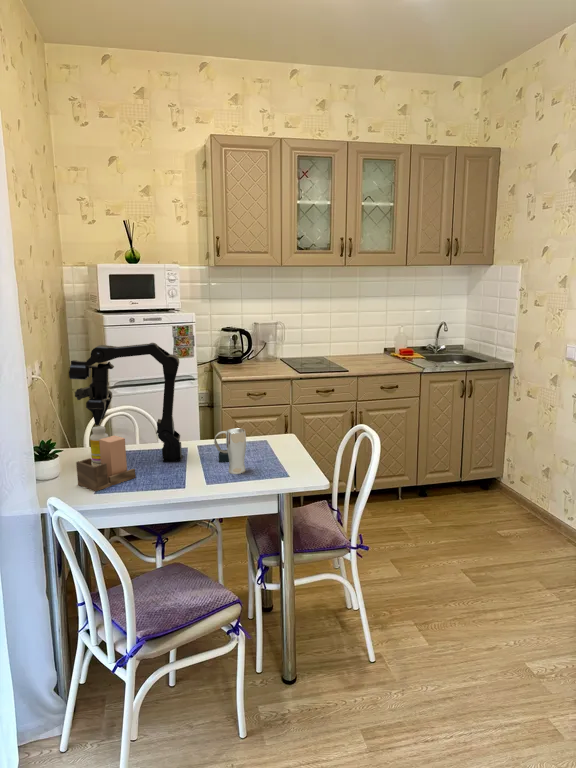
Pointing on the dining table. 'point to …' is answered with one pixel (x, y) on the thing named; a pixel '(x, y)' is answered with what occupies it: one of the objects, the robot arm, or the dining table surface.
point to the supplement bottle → (97, 442)
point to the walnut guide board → (99, 475)
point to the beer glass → (236, 450)
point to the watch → (223, 453)
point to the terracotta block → (113, 454)
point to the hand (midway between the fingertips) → (99, 422)
